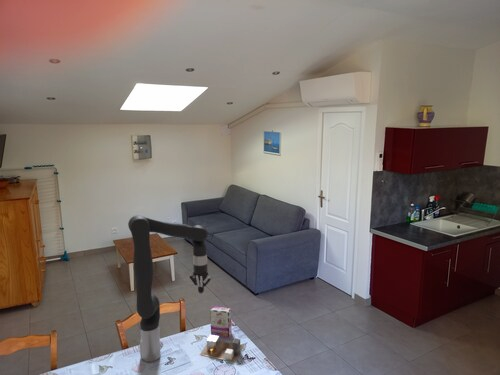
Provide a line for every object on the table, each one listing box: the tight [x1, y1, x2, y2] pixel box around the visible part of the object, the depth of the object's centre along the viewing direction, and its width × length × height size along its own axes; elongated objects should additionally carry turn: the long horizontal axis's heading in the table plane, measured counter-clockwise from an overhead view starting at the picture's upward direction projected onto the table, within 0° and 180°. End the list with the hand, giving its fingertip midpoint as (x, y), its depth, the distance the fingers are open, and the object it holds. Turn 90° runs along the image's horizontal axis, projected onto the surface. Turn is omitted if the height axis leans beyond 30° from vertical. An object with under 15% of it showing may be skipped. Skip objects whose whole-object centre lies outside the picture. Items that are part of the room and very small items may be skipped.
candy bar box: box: [209, 305, 232, 338], centre depth 199 cm, size 11×5×16 cm, turn 76°
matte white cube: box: [225, 349, 234, 360], centre depth 179 cm, size 4×4×4 cm
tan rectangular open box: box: [199, 338, 245, 363], centre depth 185 cm, size 20×14×8 cm
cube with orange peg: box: [206, 334, 220, 354], centre depth 185 cm, size 5×8×6 cm, turn 163°
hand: (201, 292), depth 190 cm, fingers closed
